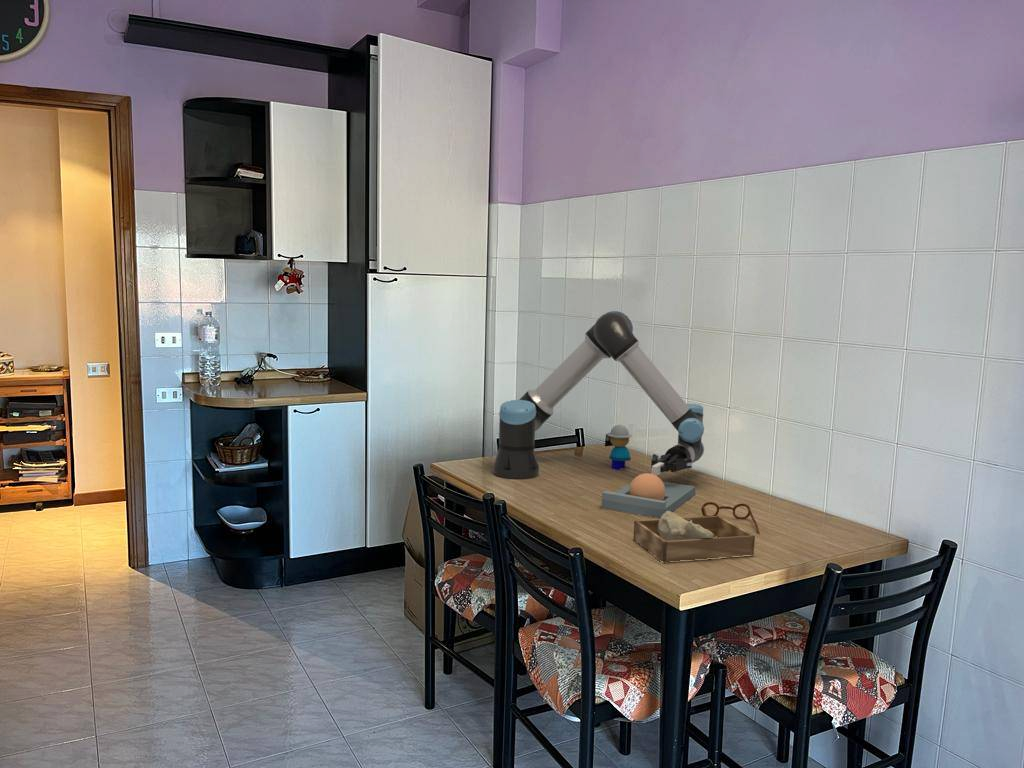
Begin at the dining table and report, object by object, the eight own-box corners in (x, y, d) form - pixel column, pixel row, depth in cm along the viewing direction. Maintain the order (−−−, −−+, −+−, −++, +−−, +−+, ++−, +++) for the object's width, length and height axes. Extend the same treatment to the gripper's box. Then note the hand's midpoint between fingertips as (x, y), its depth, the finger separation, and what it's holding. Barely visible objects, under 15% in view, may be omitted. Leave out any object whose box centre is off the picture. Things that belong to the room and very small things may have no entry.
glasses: (749, 520, 218) (750, 503, 217) (759, 535, 205) (761, 517, 204) (700, 518, 219) (701, 500, 218) (708, 533, 206) (709, 514, 205)
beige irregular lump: (655, 546, 201) (642, 523, 189) (671, 522, 203) (659, 498, 191) (708, 577, 192) (697, 555, 180) (724, 553, 194) (715, 529, 182)
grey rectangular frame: (638, 485, 250) (639, 471, 249) (695, 494, 241) (695, 480, 241) (601, 508, 224) (602, 492, 223) (663, 519, 215) (663, 502, 215)
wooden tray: (633, 540, 197) (634, 520, 196) (717, 534, 203) (718, 515, 203) (663, 563, 181) (664, 542, 181) (753, 556, 188) (754, 536, 187)
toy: (612, 463, 279) (614, 421, 277) (634, 467, 273) (637, 425, 272) (600, 468, 272) (602, 424, 270) (623, 472, 267) (625, 428, 265)
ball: (619, 477, 225) (625, 507, 229) (641, 488, 216) (646, 519, 220) (647, 463, 229) (653, 493, 232) (669, 474, 220) (675, 505, 224)
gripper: (698, 471, 250) (674, 487, 230) (659, 465, 257) (632, 480, 236) (700, 447, 249) (676, 461, 229) (660, 442, 256) (633, 455, 235)
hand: (654, 471), depth 233 cm, fingers closed
